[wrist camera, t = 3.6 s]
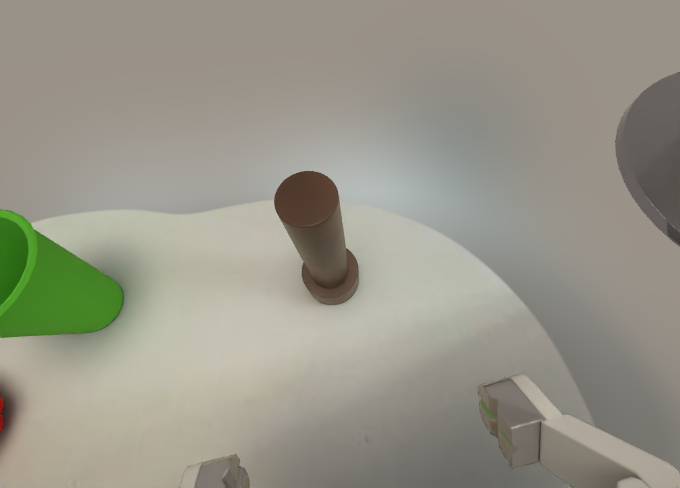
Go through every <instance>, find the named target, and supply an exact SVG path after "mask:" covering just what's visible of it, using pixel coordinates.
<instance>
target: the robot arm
mask: <svg viewBox="0 0 680 488" xmlns="http://www.w3.org/2000/svg"><path fill="white" fill-rule="evenodd" d="M478 394H479V396H480V397H481V400H480V402H479V410H480V413H481V416H482V419H483V421H484V423H485V425H486V427H487V429H488V430H489V432H490V434H492V435H493V436H495V437H497V438H498V442H499V448H500V450H501V452H502V453H503V455H504V457H505V458H506V460H507V461H508V463H509V465H510V466H511V468H512V469H513V468H517V467H521V466H525V465H529V464H533V463H537V462H540V464H541V465H542V466H544V467H545V468H546V469H548V470H549V471H551V472H552V473H553V474H555V475H556V476H557V477H559V478H560V479H562V480H563V481H564V482H566V483H567V484H569V485H570V486H571V487H573V488H680V472H679V471H678V470H676V468H674V467H673V466H672V465H671V464H670V463H668V462H665V461H663V460H661V459H659V458H657V457H655V456H653V455H651V454H649V453H647V452H645V451H643V450H641V449H639V448H637V447H635V446H632V445H630V444H628V443H626V442H624V441H622V440H620V439H618V438H616V437H614V436H612V435H610V434H607V433H606V432H604V431H602V430H600V429H598V428H596V427H593V426H591V425H589V424H587V423H585V422H583V421H581V420H579V419H577V418H575V417H573V416H571V415H569V414H565V415H562V413H561V412H560V411H559V410H558V409H557V408H556V407H555V406H554V405H553V404H552V402H551V401H550V400H549V399H548V398H547V397H546V396H545V395H544V394H543V393H542V391H541V390H540V389H539V388H538V387H537V386H536V385H535V384H534V383H533V382H532V380H531V379H530V378H529V377H528V376H527V375H526V374H524V373H520V374H516V375H513V376H510V377H504V378H501V379H498V380H494V381H491V382H488V383H484V384H481V385H479V386H478ZM239 465H240V459H239V457H238V456H237V454H233V455H229V456H226V457H222V458H218V459H214V460H210V461H206V462H202V463H198V464H194V465H191V466H188V467H187V468H186V470H185V471H184V473H183V476H182V479H181V482H180V486H179V488H250V482H249V477H248V474H247V472H246V470H245V469H244V468H242V467H240V466H239Z"/></svg>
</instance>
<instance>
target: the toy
mask: <svg viewBox="0 0 680 488" xmlns="http://www.w3.org/2000/svg"><path fill="white" fill-rule="evenodd" d="M3 404H4V403H3V400H2V397H1V396H0V431H1V430H2V428H3V424H4V420H3V417H2V415H1V413H2V410H3Z"/></svg>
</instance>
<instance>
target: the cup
mask: <svg viewBox="0 0 680 488" xmlns="http://www.w3.org/2000/svg"><path fill="white" fill-rule="evenodd" d="M122 303H123V293H122V290H121V288H120V287H119V285H118V283H117V282H116V281H114V280H113V279H112V278H110V277H108V276H107V275H105V274H104V273H102V272H100V271H99V270H97V269H96V268H94V267H93V266H91V265H89V264H88V263H86V262H85V261H83V260H82V259H80V258H78V257H77V256H75V255H74V254H72V253H70V252H69V251H67V250H66V249H64V248H63V247H61V246H59V245H58V244H56V243H55V242H53V241H52V240H50V239H48V238H47V237H45V236H44V235H42V234H41V233H39V232H37V231H36V230H34V229H33V227H32V225H31V224H30V223H29V222H28V221H27V220H26V219H25V218H24V217H23V216H22V215H19V214H17V213H15V212H12V211H8V210H0V338H2V337H20V336H38V335H57V334H75V333H89V332H94V331H97V330H99V329H102V328H104V327H105V326H107V325H108V324H110V323H111V322H112V321H113V320H114V319H115V318H116V316H117V315H118V313H119V311H120V310H121V307H122Z"/></svg>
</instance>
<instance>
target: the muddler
mask: <svg viewBox="0 0 680 488" xmlns="http://www.w3.org/2000/svg"><path fill="white" fill-rule="evenodd" d="M274 205H275V209H276V212H277V214H278V216H279V218H280V219H281V221H282V223H283V225H284V227H285V228H286V230H287V232H288V234H289V236H290V238H291V239H292V241H293V243H294V245H295V247H296V249H297V250H298V252H299V254H300V256H301V258H302V260H303V261H304V263H303V266H302V277H303V281H304V283H305V285H306V287H307V288H308V290H309V291H310V293H311V294H312V295H313V297H314V298H315V299H317V300H318V301H320V302H321V303H324V304H328V305H337V304H341V303H343V302H345V301H347V300H348V299H350V298H351V297H352V296H353V294H354V293H355V291H356V289H357V287H358V282H359V276H358V264H357V261H356V259H355V257H354V255H353V254H352V253H351V252H350V251H349V250H348V249H346V246H345V239H344V231H343V224H342V217H341V210H340V203H339V196H338V191H337V188H336V186H335V184H334V183H333V182H332V180H331V179H329V178H328V177H327V176H325V175H324V174H321V173H318V172H314V171H304V172H299V173H296V174H293V175H291V176H290V177H288V178H287V179H285V180H284V181H283V182H282V183H281V185H280V186H279V188H278V189H277V192H276V194H275V200H274Z"/></svg>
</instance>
